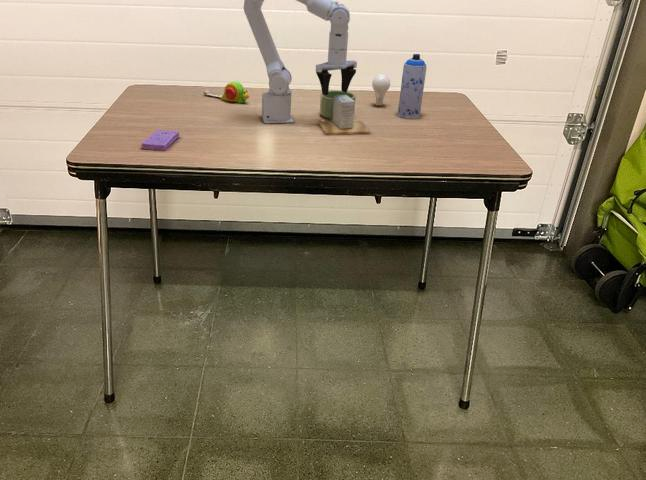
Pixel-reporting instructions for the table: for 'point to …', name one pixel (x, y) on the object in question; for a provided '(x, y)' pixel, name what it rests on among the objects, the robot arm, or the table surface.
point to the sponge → (160, 140)
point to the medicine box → (343, 111)
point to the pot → (331, 102)
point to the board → (333, 129)
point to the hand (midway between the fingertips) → (334, 93)
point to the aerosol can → (412, 88)
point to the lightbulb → (380, 87)
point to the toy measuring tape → (232, 93)
